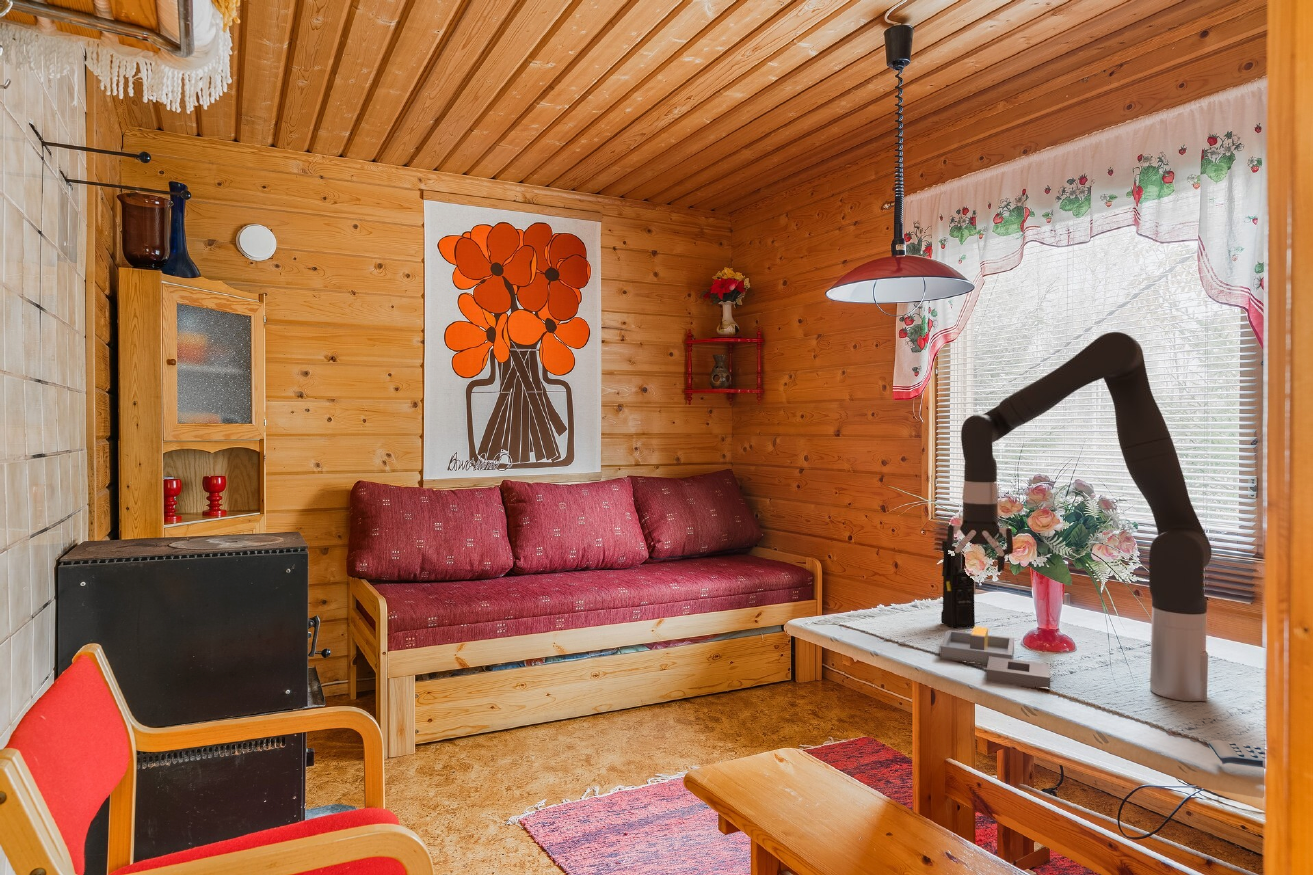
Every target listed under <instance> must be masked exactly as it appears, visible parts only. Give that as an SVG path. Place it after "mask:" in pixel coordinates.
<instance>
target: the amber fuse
mask: <svg viewBox="0 0 1313 875" xmlns="http://www.w3.org/2000/svg"><path fill="white" fill-rule="evenodd" d="M972 628H973V629H972V632H970V633H971V635H970V649H977V650H985V651H986V650H987V647H988V635H989V634H988V633H989V627H983V626H977V625H976V626H974V627H972Z"/></svg>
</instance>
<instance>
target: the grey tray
mask: <svg viewBox="0 0 1313 875" xmlns="http://www.w3.org/2000/svg"><path fill="white" fill-rule="evenodd" d="M971 633H972V632H965V631H958V630H957V631H956V630H946V632H945V634H944V637H943V640H942V642H941V644H940V646H939V649H940V650H939V651H940V652H939V656H940V657H939V659H940V660H943V661H944V660H945V661H953V662H959V661H966V662H975V663H980V664H979V665H981V664H984V666H987V665H988V661H989V656H991V657H998V658H1006V659H1014V653H1015V637H1011V636H1010V637H1008V636H1003V635H1002V636H1001V635H992V634H988V647H987V650H986V651H985V650H977V649H970V635H971ZM966 662H965V663H966Z"/></svg>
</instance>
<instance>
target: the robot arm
mask: <svg viewBox="0 0 1313 875" xmlns="http://www.w3.org/2000/svg"><path fill="white" fill-rule="evenodd" d="M1146 367H1147V366H1146V365H1145V357H1144V351H1143V349H1142V347H1141V345H1140V343H1139V341H1137V340H1136V339H1135V338H1133V337H1132V336H1131V335H1129V334H1128V333H1125V332H1121V331H1109V332H1106V333H1103V334H1101V335H1099V336H1097V338H1095V339H1094V340H1092V342H1090V343H1089V344H1088V345H1087V346H1086V347H1084V348H1083V349H1082V350H1081V351H1080V352H1078V353H1076V355H1074V356H1072V357H1071V358H1070V359H1069V360H1067V361H1066V362H1065V363H1063V364H1062V365H1060V366H1059V367H1057V368H1056V369H1054V370H1052V371H1050V372H1049V373H1047V374H1046V375H1044V376H1042V377H1040V378H1039V379H1037V380H1035V381H1033V382H1031V383H1029V384H1028V385H1026V386H1024V387H1022V388H1020V389H1019V390H1017V391H1016V392H1014V393H1012V394H1009V396H1007V397H1006V398H1004V399H1003V400H1001V401H1000V402H999V404H998V405H997V406H996V407H995V406H994V408H992V409H990V410H988V411H986V412H985V413H984V412H983V413H982V414H973V415H970V416H969V417H968V418H966V419H965V420H964V422H963V424H962V426H961V429H960V430H961V431H960V441H961V448H962V454H963V458H964V471H963V472H964V474H963V475H964V476H963V478H964V481H963V486H962V487H963V490H962V498H961V499H962V521H961V522H962V524H961V525H960V524H954V523H950V524H948V526H947V538H946V540H947V549H948V550H951V551H954V553H955V566H957V567H958V569H962V552H961V550H962V549H963V548H964V547H965V546H966V544H967V543H968V542H970V543H972V544H974V545H982V546H987V545H990V546H991V547H992V548H993V550H994V551H995V552H996V553H997V573H1002V571H1004V569H1005V557H1006V556H1008V555H1011V554H1013V552H1014V541H1013V527H1012V526H1008V527H999V523H998V516H999V515H998V511H999V510H998V506H999V505H998V504H999V494H998V492H999V490H998V484H997V483H998V470H997V469H998V466H997V464H998V463H997V460H996V458H994V454H993V449H994V448H993V443H995V442H997V441H999V440H1000V439H1002V438H1003V437H1006V435H1008V434H1009V433H1012V431H1014V430H1015V429H1017V428H1018V427H1020V426H1023V425H1025V424H1027V423H1029V422H1030V421H1032V420H1034V419H1036V418H1037V417H1039V416H1041V415H1042V414H1044V413H1046V412H1048V411H1050V410H1051V409H1052V408H1053V407H1055V406H1056V405H1058V404H1060V402H1062V401H1063V400H1064V399H1066V398H1067V397H1069V396H1070V395H1072V394H1074V393H1075V392H1076V391H1078V390H1079V389H1082V388H1083V387H1085V386H1087V385H1089V384H1092V383H1094V382H1096V381H1099V380H1101V379H1103V381H1104V382H1105V384H1106V387H1107V389H1108V392H1109V394H1110V397H1111V399H1112V400H1111V401H1112V402H1113V406H1114V413H1115V414H1114V415H1115V425H1116V434H1117V438H1118V443H1119V448H1120V450H1121V453H1122V457H1123V459H1124V460H1123V461H1124V462H1125V465H1126V468H1127V470H1128V473H1129V475H1130V477H1131V480H1133V482H1134V484H1135V486H1136V487H1137V489H1138V490H1139V491H1140V494H1142V496H1143V497H1144V499H1145V500H1146V502H1147V504H1148V506H1149V508H1150V510H1151V513H1152V515H1153V519H1154V524H1155V526H1156V530H1157V531H1156V532H1157V536H1156V537H1155V538H1154V539H1153V540H1152V542H1151V545H1150V547H1149V554H1148V578H1149V579H1148V581H1149V584H1148V586H1149V587H1148V588H1149V592H1150V596H1151V629H1150V630H1151V632H1150V633H1151V635H1150V637H1151V638H1150V671H1149V673H1150V675H1149V676H1150V678H1149V683H1150V684H1149V686H1150V687H1149V689H1150V691H1151V692H1152V693H1154V694H1155V695H1158V696H1161V697H1163V698H1166V699H1167V698H1168V699H1171V700H1176V701H1182V702H1198V701H1199V702H1208V682H1209V681H1208V680H1209V678H1208V674H1209V673H1208V671H1209V654H1208V652H1207V621H1208V620H1207V616H1208V612H1207V611H1208V600H1207V597H1206V596H1205V591H1204V568H1206V567H1207V566H1208V565H1209V563H1210V561H1211V559H1212V554H1213V552H1212V547H1211V546H1212V545H1211V544H1210V541H1209V538H1208V537H1207V534H1206V532H1205V531H1204V528H1203V526H1202V524H1201V522H1200V520H1199V517H1198V516H1197V513H1196V512H1195V509H1194V506H1193V504H1192V502H1191V499H1190V496H1189V492H1188V491H1189V490H1188V487H1187V483H1186V481H1185V480H1186V479H1185V476H1184V472H1183V471H1182V467H1181V464H1180V459H1179V457H1178V453H1177V451H1176V448H1175V445H1174V442H1173V439H1172V436H1171V434H1170V431H1169V429H1168V426H1167V423H1166V422H1165V419H1164V417H1163V414H1162V412H1161V410H1160V407H1159V406H1158V404H1157V401H1156V400H1155V397H1154V395H1153V393H1152V392H1153V391H1152V390H1151V386H1150V382H1149V378H1148V373H1147V368H1146ZM959 531H961V533H962V535H963V536H964V538H963V539H962V541H961V542H960V544H959V545H958V546H955V545H953V541H954V540H955V538H954V537H955V535H956V534H957V533H958V532H959ZM1000 533H1001V534H1002V536H1003V537H1004V538H1005V539H1006V548H1003V547H1002V546H1001V544H1000V543H999V542H998V540H997V539H996V537H997V536H998V535H999V534H1000Z"/></svg>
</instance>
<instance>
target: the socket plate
mask: <svg viewBox="0 0 1313 875" xmlns="http://www.w3.org/2000/svg"><path fill="white" fill-rule="evenodd" d="M1050 664H1051V663H1045V662H1036V661H1029V660H1028V661H1027V660H1020V659H1014V658H1013V659H1006V658H998V657H991V656H989V661H988V665H986V682H991V683H997V684H1005V685H1013V686H1020V687H1026V688H1032V689H1033V688H1034V689H1039V688H1038V687H1048V688H1050V689H1051V665H1050ZM1035 687H1036V688H1035Z"/></svg>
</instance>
